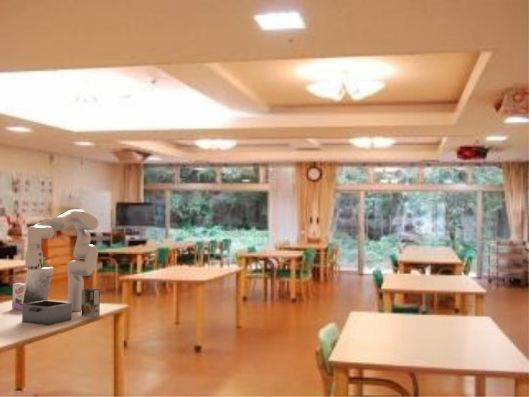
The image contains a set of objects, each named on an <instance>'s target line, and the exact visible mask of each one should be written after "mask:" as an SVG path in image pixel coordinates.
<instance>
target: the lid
mask: <svg viewBox="0 0 529 397" xmlns="http://www.w3.org/2000/svg"><path fill="white" fill-rule="evenodd" d="M53 269H54V267H53V266H49V267H41V269H39V268H38V269H27V270H26V276H25V282H24V283H25V285H24V291H23V297H22V302H21V304H27V303H32V302H40V301H45V300H48V298H49V292H50V287H51V282H52V277H53V276H52V275H53V271H54V270H53Z"/></svg>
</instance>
